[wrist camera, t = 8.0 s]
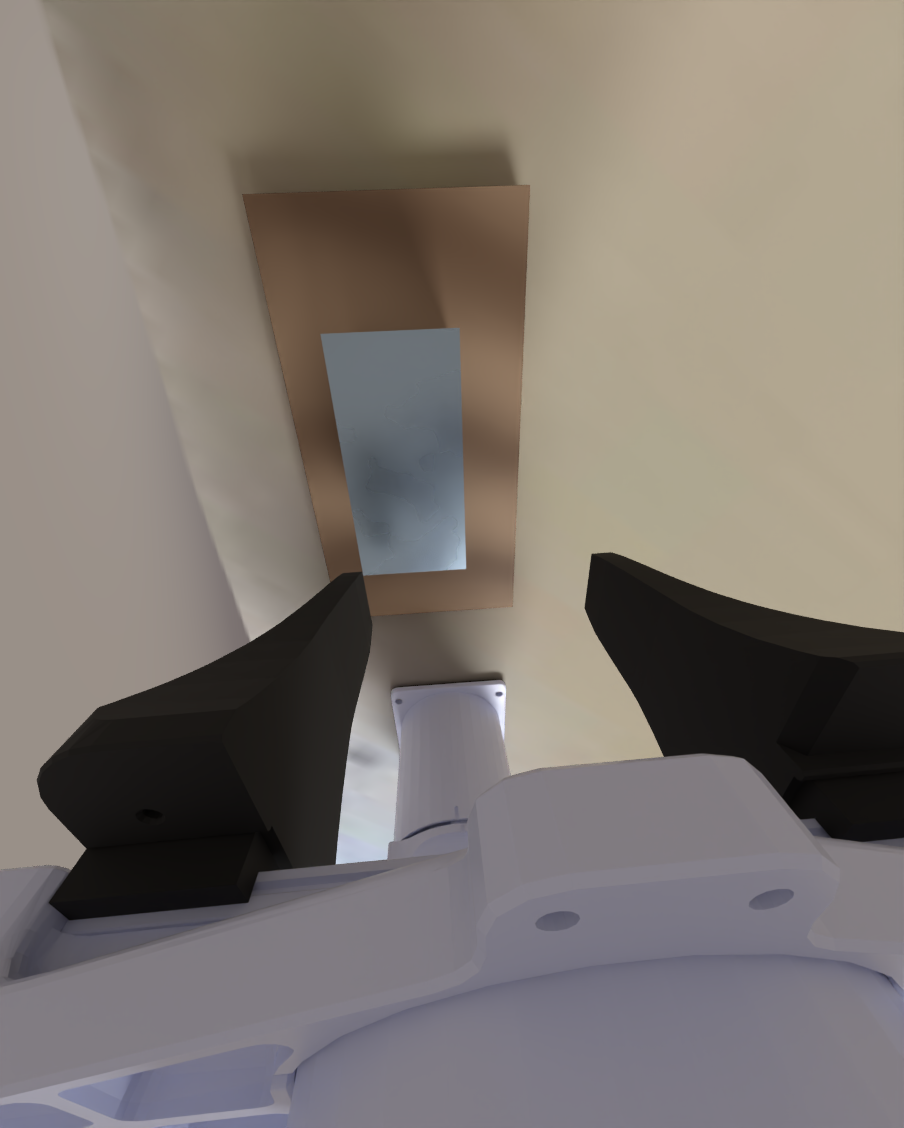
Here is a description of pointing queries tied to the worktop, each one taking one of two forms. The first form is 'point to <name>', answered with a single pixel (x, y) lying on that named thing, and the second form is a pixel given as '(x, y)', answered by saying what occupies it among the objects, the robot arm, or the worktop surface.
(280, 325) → the stand
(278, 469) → the worktop surface
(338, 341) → the block
